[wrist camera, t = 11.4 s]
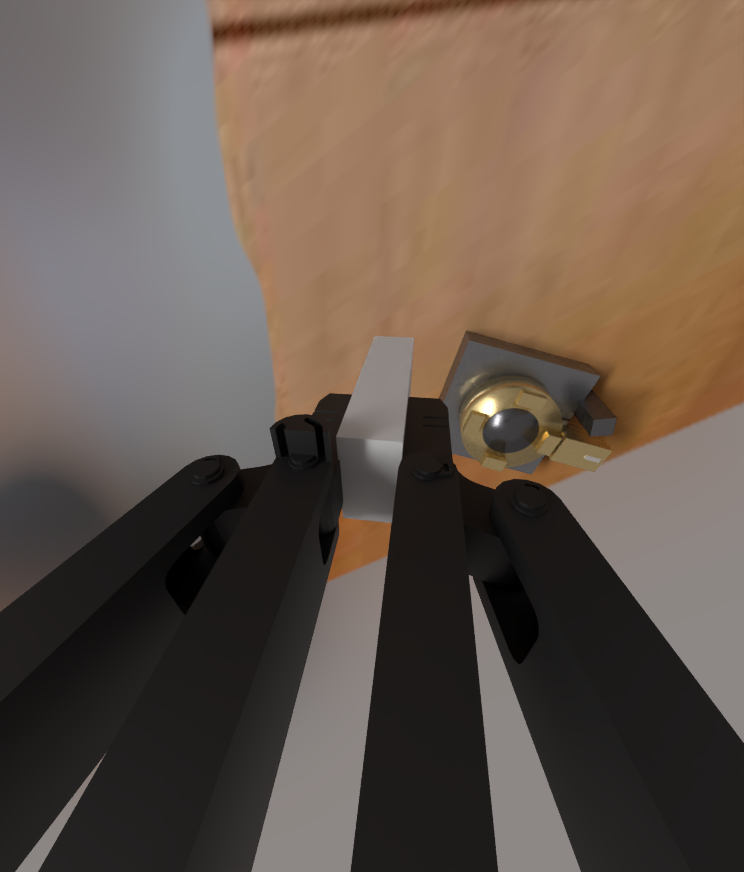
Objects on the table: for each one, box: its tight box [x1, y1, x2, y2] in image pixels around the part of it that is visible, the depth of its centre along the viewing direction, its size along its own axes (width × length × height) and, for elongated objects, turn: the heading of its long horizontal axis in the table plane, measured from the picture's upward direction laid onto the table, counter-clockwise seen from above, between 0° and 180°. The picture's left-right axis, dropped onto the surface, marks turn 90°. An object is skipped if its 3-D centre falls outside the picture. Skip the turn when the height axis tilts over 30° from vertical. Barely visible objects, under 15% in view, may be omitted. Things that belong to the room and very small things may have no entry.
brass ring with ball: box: [459, 375, 612, 472], centre depth 36 cm, size 15×10×4 cm, turn 76°
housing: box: [439, 331, 617, 474], centre depth 38 cm, size 14×16×7 cm
